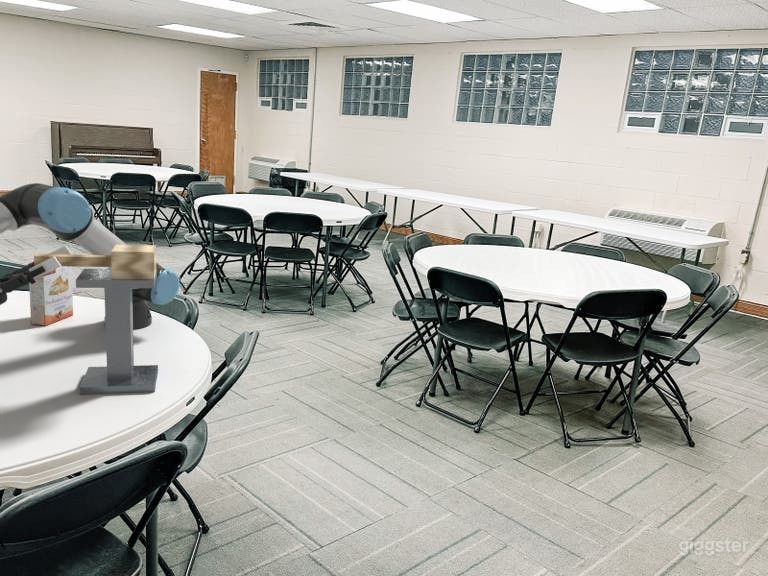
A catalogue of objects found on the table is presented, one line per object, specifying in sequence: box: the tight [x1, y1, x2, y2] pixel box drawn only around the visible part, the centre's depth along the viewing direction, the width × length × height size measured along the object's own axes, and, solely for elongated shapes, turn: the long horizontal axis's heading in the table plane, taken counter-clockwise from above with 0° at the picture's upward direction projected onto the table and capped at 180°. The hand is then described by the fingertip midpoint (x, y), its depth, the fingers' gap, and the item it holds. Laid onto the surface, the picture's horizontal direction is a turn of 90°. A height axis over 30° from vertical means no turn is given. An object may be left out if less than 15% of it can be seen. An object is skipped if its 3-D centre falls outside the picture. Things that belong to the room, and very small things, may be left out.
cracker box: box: [27, 261, 74, 327], centre depth 211 cm, size 14×6×21 cm, turn 168°
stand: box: [75, 268, 159, 396], centre depth 166 cm, size 18×14×30 cm
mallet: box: [33, 244, 157, 279], centre depth 160 cm, size 28×9×7 cm, turn 106°
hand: (63, 255), depth 157 cm, fingers open, 13 cm apart
